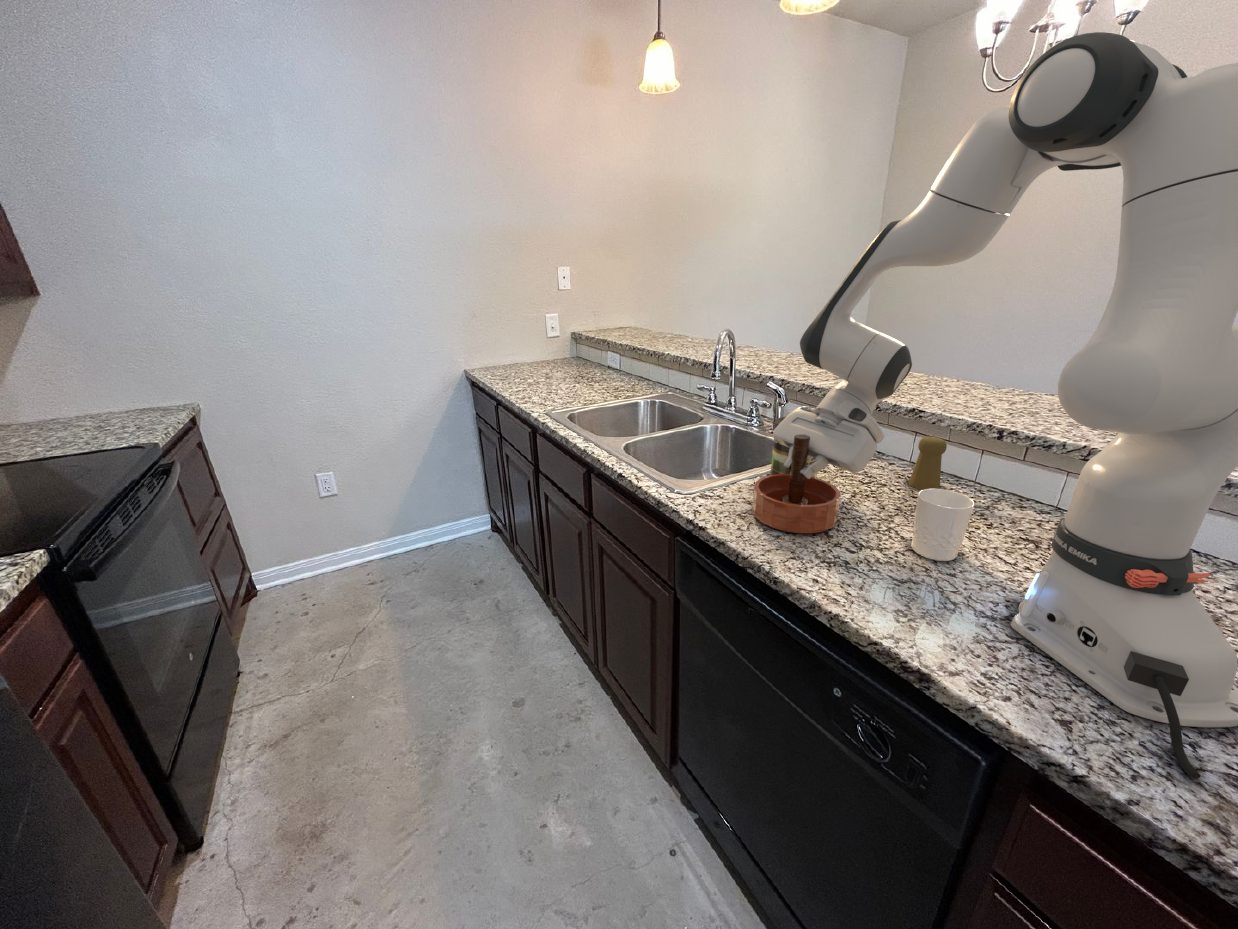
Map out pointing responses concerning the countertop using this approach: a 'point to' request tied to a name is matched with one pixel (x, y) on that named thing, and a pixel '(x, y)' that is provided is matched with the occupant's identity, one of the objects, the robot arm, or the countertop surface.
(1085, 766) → the countertop surface
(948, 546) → the white cup
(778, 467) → the coffee can
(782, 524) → the bowl
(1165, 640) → the robot arm
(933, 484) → the pepper grinder
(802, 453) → the muddler
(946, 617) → the countertop surface
